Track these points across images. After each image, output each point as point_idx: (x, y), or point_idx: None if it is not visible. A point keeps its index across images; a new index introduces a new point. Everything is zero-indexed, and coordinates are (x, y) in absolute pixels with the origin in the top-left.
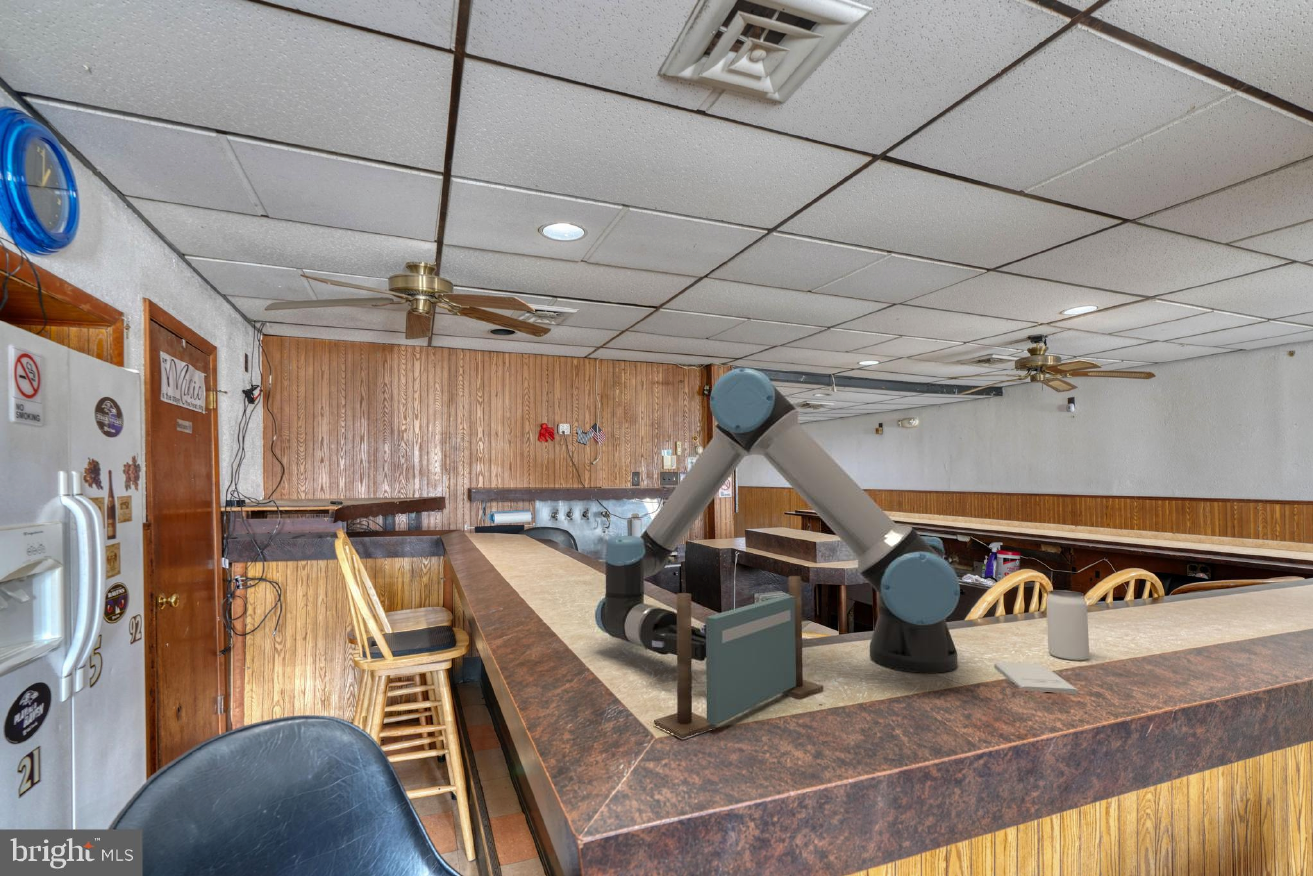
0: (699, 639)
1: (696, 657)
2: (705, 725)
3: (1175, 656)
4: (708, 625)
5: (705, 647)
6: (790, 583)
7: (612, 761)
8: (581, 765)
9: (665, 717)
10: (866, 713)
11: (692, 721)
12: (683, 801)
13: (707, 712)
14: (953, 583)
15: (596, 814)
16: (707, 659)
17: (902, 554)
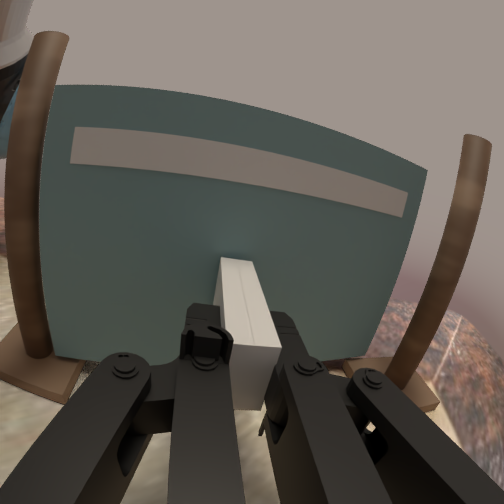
0: (350, 452)
1: (366, 430)
2: (365, 359)
3: None
4: (419, 184)
5: (345, 381)
6: (59, 52)
7: (468, 360)
8: (489, 363)
9: (422, 403)
10: None
11: None
12: (407, 307)
13: (370, 340)
14: None
15: (460, 321)
16: (404, 250)
17: None
